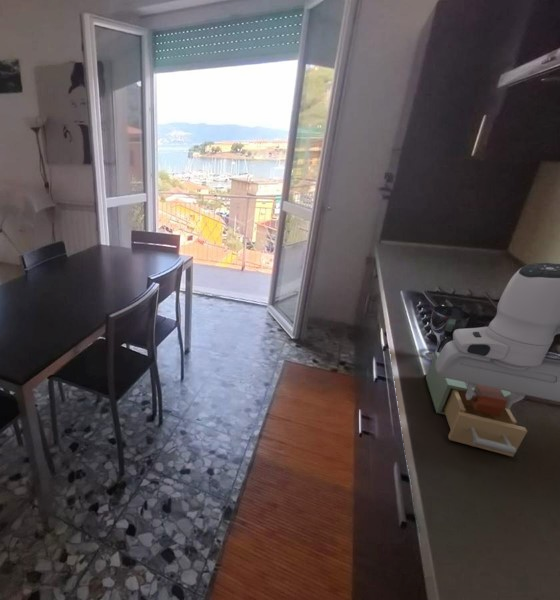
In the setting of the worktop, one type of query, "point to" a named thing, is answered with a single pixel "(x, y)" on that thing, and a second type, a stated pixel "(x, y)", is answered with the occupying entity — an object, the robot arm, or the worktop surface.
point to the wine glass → (446, 324)
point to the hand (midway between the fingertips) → (486, 402)
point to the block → (489, 400)
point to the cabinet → (444, 386)
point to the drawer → (481, 426)
